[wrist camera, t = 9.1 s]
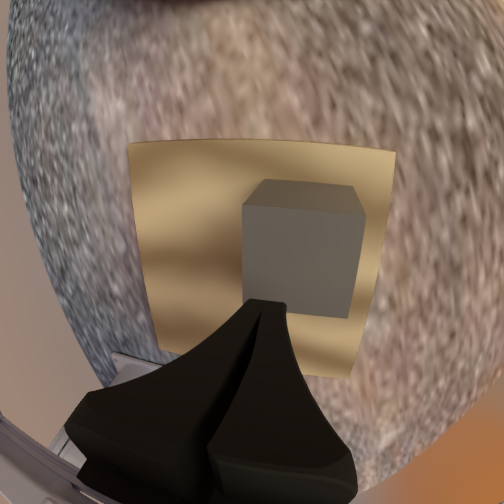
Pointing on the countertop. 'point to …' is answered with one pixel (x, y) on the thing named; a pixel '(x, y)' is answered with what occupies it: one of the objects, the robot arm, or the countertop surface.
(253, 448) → the robot arm
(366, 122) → the countertop surface
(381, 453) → the countertop surface
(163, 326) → the board
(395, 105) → the countertop surface
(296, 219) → the grey cube
